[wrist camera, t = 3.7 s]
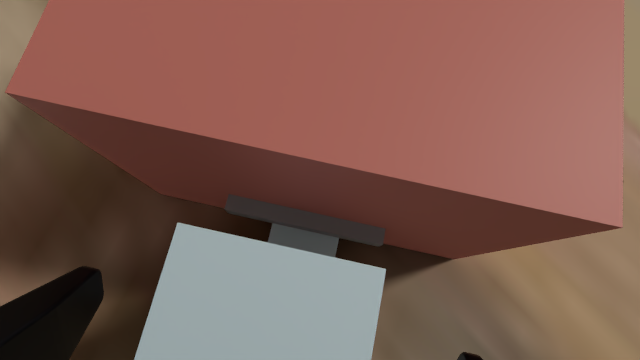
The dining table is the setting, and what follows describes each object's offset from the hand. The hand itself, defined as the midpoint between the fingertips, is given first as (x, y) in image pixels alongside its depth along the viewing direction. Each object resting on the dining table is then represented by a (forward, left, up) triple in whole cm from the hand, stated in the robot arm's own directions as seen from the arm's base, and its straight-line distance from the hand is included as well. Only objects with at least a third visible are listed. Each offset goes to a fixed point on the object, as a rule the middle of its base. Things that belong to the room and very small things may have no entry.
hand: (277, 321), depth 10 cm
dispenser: (-1, +8, -8) cm, 11 cm away
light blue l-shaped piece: (0, +6, -8) cm, 10 cm away
